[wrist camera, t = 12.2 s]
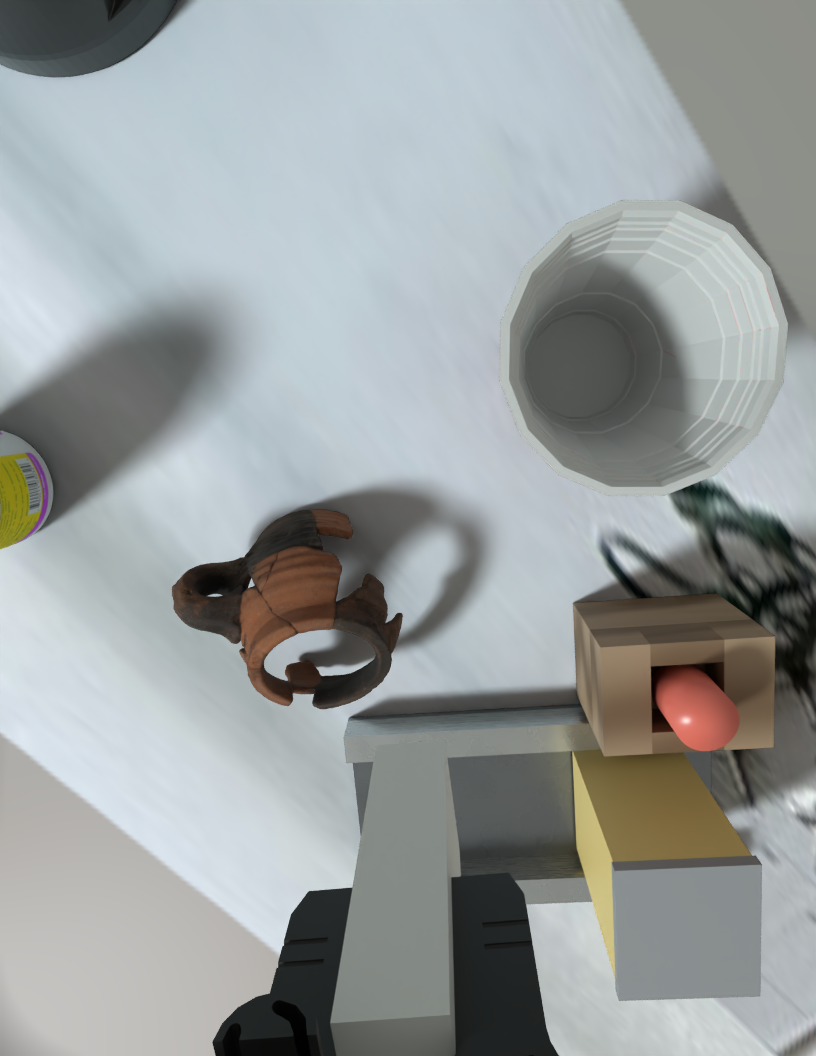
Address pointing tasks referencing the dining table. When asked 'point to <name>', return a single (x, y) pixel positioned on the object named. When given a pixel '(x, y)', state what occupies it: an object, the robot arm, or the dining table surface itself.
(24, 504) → the supplement bottle
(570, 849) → the track
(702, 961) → the carriage
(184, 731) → the dining table surface
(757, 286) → the plastic cup
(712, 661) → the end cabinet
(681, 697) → the ball
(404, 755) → the robot arm
